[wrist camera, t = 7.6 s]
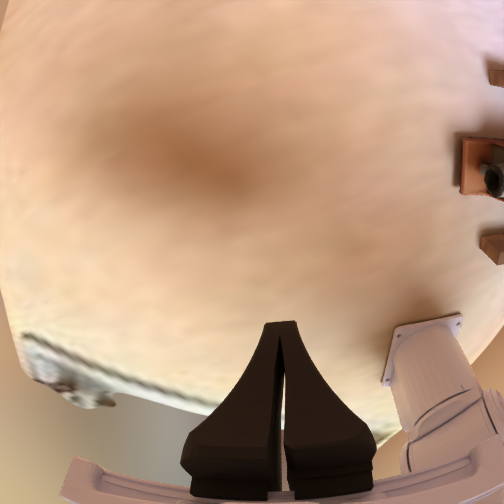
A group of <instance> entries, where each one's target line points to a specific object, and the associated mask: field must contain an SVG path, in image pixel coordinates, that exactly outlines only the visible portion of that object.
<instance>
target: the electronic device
mask: <svg viewBox="0 0 504 504" xmlns="http://www.w3.org/2000/svg"><path fill="white" fill-rule="evenodd" d="M459 192H460V193H461V194H462V195H486V196H490V197H493V198H496V199H498V200H500V201H503V202H504V140H503V139H486V138H472V137H469V138H465V137H463V138H462V161H461V177H460V190H459Z"/></svg>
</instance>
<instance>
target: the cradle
mask: <svg viewBox="0 0 504 504" xmlns="http://www.w3.org/2000/svg"><path fill="white" fill-rule="evenodd" d="M489 77H490V85H494V86H498V87H503V88H504V71H499V70H489ZM480 249H481V250H482V251H483V252H484V253H485V254H486V255H487V256H488V257H489V258H490V259H491V260H492V261H493V262H494V263H495V264H496V265H502V264H504V233H503V234H495V235H486V236H482V240H481V245H480Z"/></svg>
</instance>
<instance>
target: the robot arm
mask: <svg viewBox="0 0 504 504" xmlns="http://www.w3.org/2000/svg"><path fill="white" fill-rule="evenodd" d="M462 321H463V316H462V314H458V315H454V316H449V317H444V318H440V319H435V320H430V321H425V322H420V323H414V324H409V325H403V326H399V327H397V328H396V329H395V330H394V334H393V339H392V344H391V348H390V352H389V357H388V361H387V365H386V369H385V373H384V376H383V380H382V387H389V386H390V387H391V390H392V394H393V397H394V401H395V404H396V408H397V412H398V415H399V419H400V423H401V426H402V428H403V430H404V431H405V432H406V433H407V435H408V439H409V441H408V442H407V443H406V444H405V445H404V446H403V448H402V452H401V456H400V470H401V475H397V476H393V477H389V478H385V479H380V480H375V481H373V477H372V470H373V466H372V459H373V457H374V455H375V453H376V450H377V446H376V443H375V440H374V437H373V435H372V433H371V431H370V429H369V427H368V426H367V424H366V423H365V422H364V421H362V420H361V419H360V418H359V417H358V416H357V415H355V414H354V413H353V412H352V411H351V410H350V409H349V408H348V407H347V406H346V405H345V404H344V403H343V402H342V401H341V399H340V398H339V397H338V396H337V395H336V394H335V393H334V392H333V390H332V389H331V388H330V387H329V385H328V384H327V383H326V381H325V380H324V379H323V377H322V376H321V374H320V373H319V371H318V370H317V368H316V366H315V365H314V363H313V361H312V360H311V358H310V356H309V354H308V352H307V350H306V348H305V346H304V344H303V342H302V339H301V337H300V334H299V331H298V327H297V322H295V321H282V322H270V323H266V324H265V325H264V329H263V332H262V335H261V338H260V341H259V343H258V346H257V348H256V350H255V352H254V354H253V356H252V358H251V360H250V362H249V364H248V366H247V368H246V369H245V371H244V373H243V375H242V376H241V378H240V379H239V381H238V382H237V384H236V385H235V387H234V388H233V389H232V391H231V392H230V393H229V394H228V396H227V397H226V398H225V399H224V401H223V402H222V403H221V404H220V405H219V406H218V407H217V408H216V409H215V410H214V411H213V412H212V413H211V414H210V415H209V416H208V417H207V418H206V420H204V421H203V422H202V423H201V424H200V425H199V426H197V427H196V428H195V429H194V430H192V431H191V432H190V433H189V435H188V437H187V439H186V442H185V445H184V447H183V451H182V456H181V461H180V464H181V466H182V467H183V468H184V469H185V470H186V471H187V472H188V473H189V474H190V475H191V476H192V481H191V487H183V486H177V485H170V484H164V483H158V482H153V481H147V480H143V479H139V478H134V477H129V476H125V475H122V474H118V473H114V472H110V471H107V470H103V468H102V467H100V466H99V465H98V464H96V463H94V462H91V461H89V460H86V459H83V458H79V457H77V456H74V457H73V459H72V461H71V464H70V467H69V469H68V472H67V475H66V477H65V480H64V483H63V486H62V489H61V491H60V494H59V495H60V497H62V498H64V499H65V500H68V501H69V502H71V503H73V504H341V503H346V504H504V399H503V398H502V396H501V394H500V393H499V392H498V391H497V390H492V389H487V390H486V391H485V392H484V391H483V390H482V389H481V386H480V384H479V382H478V380H477V378H476V376H475V374H474V372H473V370H472V368H471V366H470V364H469V362H468V360H467V358H466V356H465V354H464V352H463V350H462V349H461V347H460V345H459V343H458V341H457V339H456V338H457V335H458V332H459V330H460V327H461V324H462ZM284 374H285V424H284V449H285V455H286V461H287V481H288V484H289V489H290V491H282V472H281V471H282V468H281V410H282V399H283V387H284Z"/></svg>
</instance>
